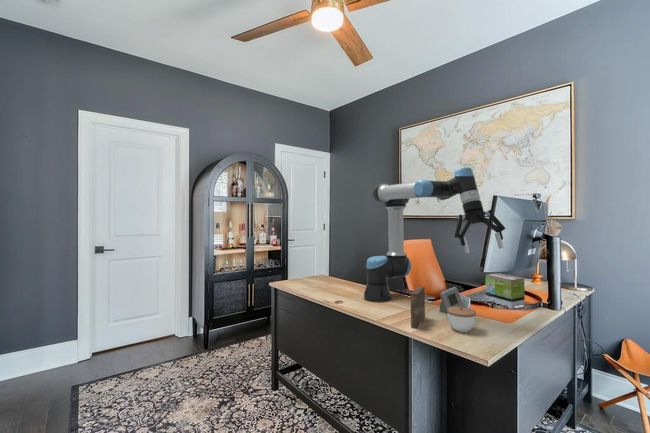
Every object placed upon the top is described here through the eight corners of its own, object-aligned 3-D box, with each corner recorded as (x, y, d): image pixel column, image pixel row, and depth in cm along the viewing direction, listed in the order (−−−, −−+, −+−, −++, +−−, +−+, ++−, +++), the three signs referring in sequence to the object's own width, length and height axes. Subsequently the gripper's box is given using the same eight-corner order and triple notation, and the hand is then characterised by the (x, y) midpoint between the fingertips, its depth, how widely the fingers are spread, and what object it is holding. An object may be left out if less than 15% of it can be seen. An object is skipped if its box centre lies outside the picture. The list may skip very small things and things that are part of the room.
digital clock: (449, 317, 141) (448, 293, 141) (432, 312, 148) (432, 290, 148) (470, 311, 149) (469, 288, 149) (453, 306, 157) (453, 285, 157)
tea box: (484, 302, 164) (484, 274, 164) (498, 299, 168) (497, 272, 168) (511, 309, 151) (511, 279, 151) (525, 307, 154) (525, 277, 155)
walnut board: (411, 327, 128) (410, 293, 128) (419, 317, 141) (418, 286, 141) (417, 328, 127) (416, 294, 127) (425, 317, 140) (424, 286, 140)
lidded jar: (481, 330, 124) (481, 307, 124) (465, 336, 118) (465, 311, 118) (457, 323, 133) (457, 301, 133) (441, 328, 127) (441, 305, 127)
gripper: (444, 204, 132) (456, 254, 126) (504, 194, 130) (519, 244, 124) (440, 209, 139) (451, 256, 133) (497, 200, 137) (511, 247, 132)
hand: (484, 250), depth 129 cm, fingers open, 13 cm apart
